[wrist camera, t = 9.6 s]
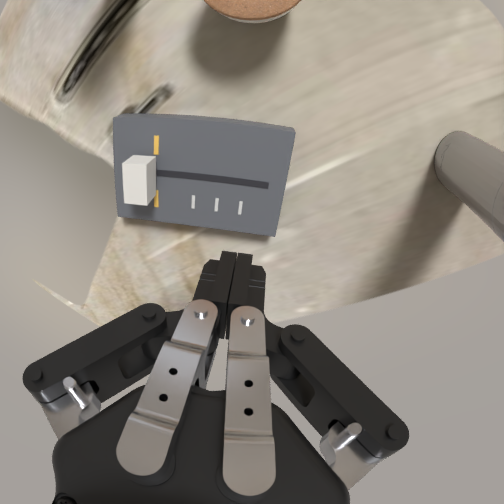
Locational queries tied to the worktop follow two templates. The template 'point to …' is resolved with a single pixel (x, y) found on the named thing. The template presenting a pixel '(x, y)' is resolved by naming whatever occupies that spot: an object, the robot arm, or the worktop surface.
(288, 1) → the lidded jar
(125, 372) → the robot arm
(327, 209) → the worktop surface
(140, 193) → the fader knob
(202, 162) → the panel
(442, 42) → the worktop surface
